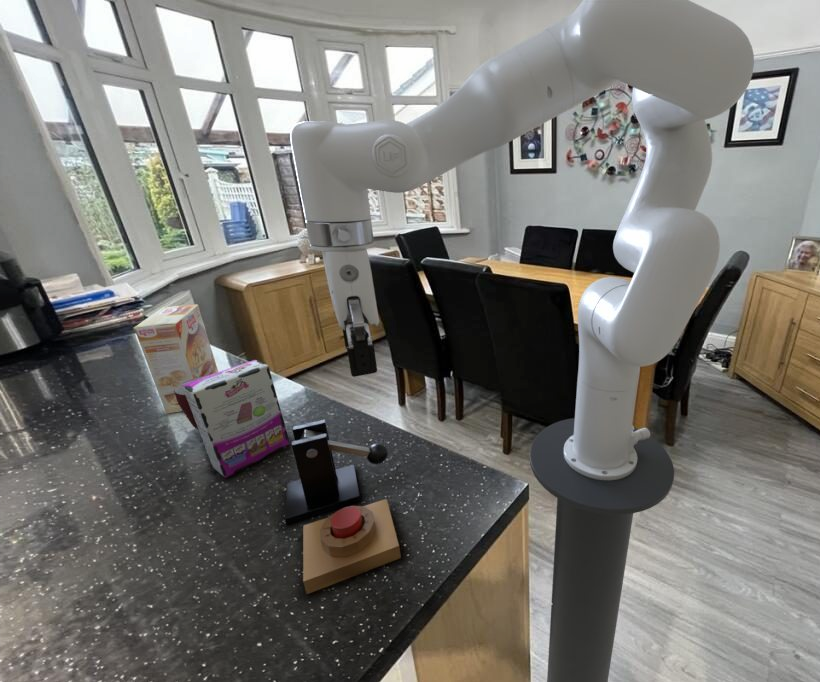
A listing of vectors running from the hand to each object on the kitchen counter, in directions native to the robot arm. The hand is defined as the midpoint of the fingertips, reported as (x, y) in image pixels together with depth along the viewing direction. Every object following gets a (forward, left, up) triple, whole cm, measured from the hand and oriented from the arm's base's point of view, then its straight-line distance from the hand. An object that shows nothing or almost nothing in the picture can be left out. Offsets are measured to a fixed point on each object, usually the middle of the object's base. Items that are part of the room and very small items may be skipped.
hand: (360, 359), depth 55 cm
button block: (+5, +11, -22) cm, 25 cm away
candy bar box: (+19, -17, -22) cm, 34 cm away
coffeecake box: (+33, -48, -22) cm, 63 cm away
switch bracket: (+8, -1, -22) cm, 23 cm away
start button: (+5, +11, -18) cm, 22 cm away
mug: (+26, -31, -22) cm, 46 cm away
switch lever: (+5, -1, -16) cm, 17 cm away
